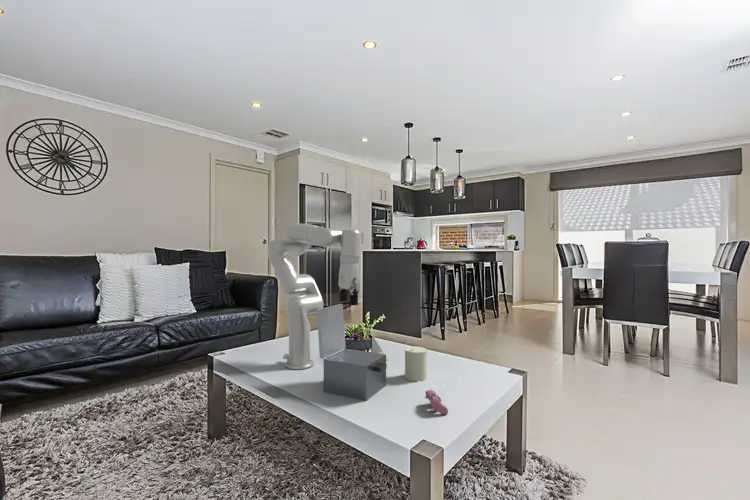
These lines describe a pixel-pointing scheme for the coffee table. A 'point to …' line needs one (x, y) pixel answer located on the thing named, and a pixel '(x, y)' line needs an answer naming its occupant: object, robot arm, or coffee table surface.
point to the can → (415, 363)
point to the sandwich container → (376, 347)
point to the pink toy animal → (436, 402)
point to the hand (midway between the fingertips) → (348, 303)
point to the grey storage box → (355, 373)
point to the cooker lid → (331, 330)
